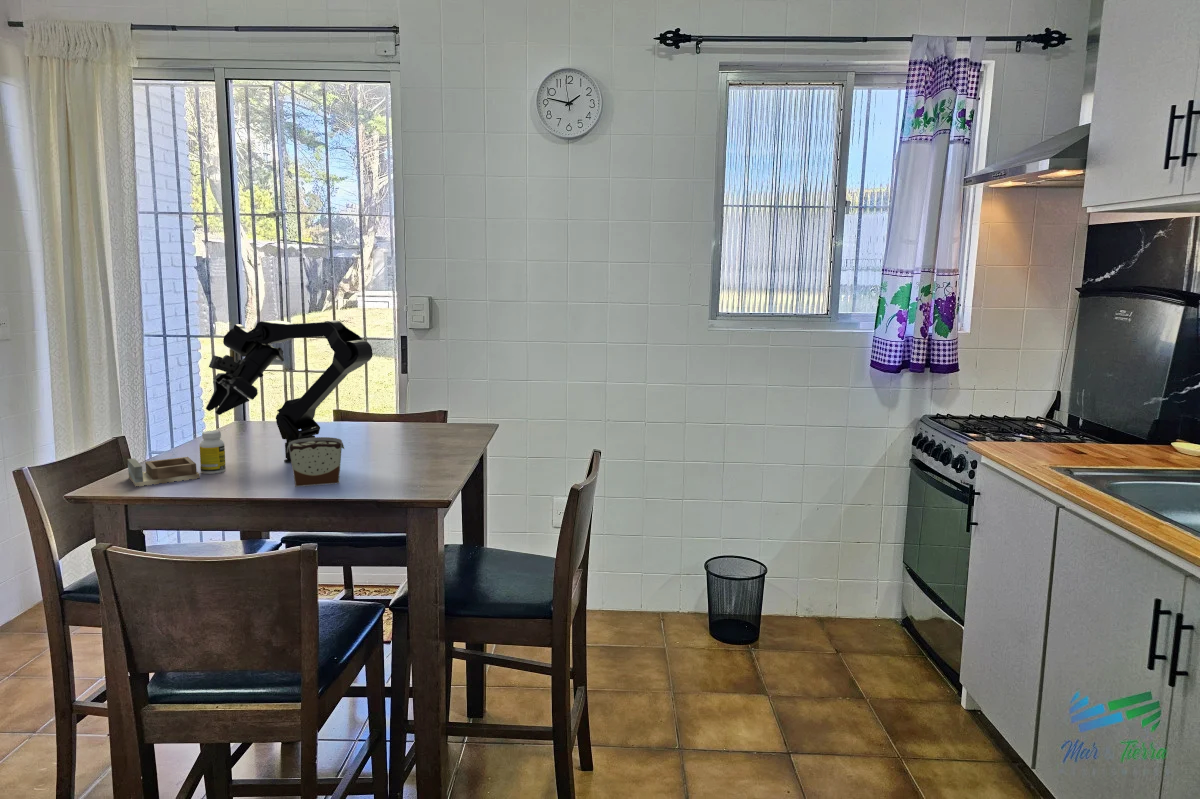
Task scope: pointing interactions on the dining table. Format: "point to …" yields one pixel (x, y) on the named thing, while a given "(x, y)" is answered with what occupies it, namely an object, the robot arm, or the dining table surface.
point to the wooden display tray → (162, 471)
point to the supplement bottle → (212, 453)
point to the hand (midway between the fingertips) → (212, 411)
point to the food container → (315, 460)
